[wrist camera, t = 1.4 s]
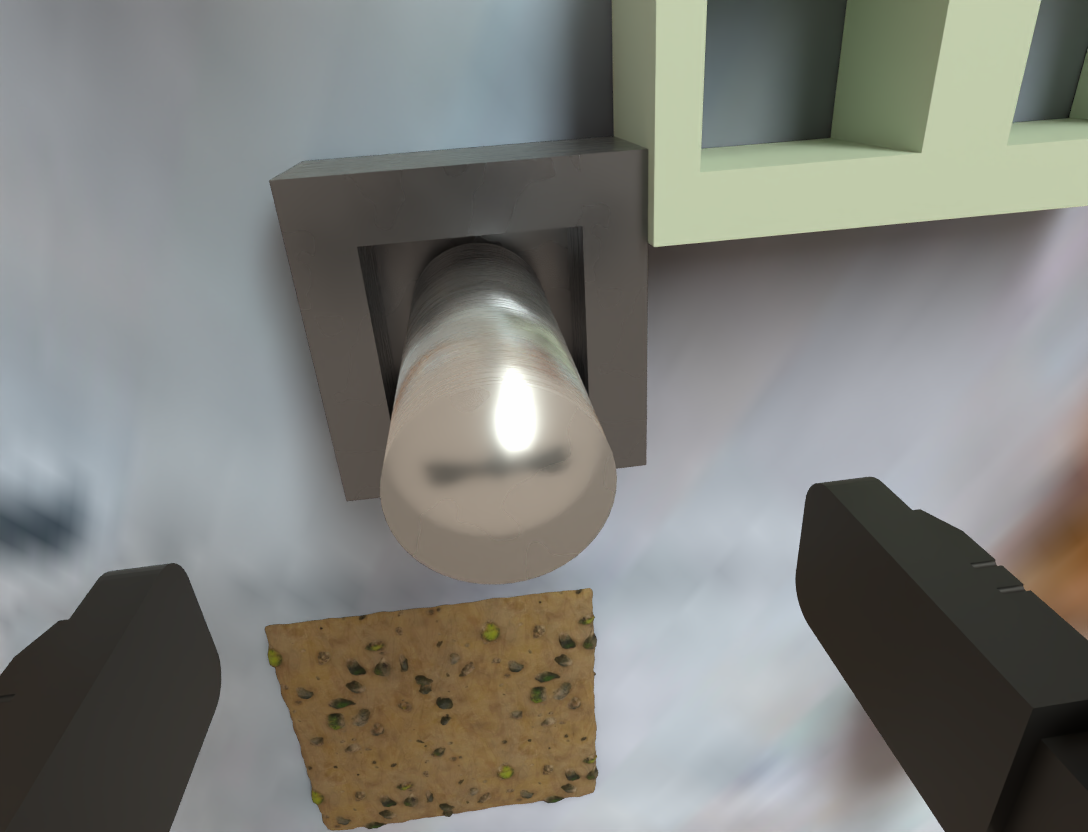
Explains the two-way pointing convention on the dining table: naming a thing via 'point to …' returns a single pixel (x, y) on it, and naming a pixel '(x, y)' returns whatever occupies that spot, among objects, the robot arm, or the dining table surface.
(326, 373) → the block
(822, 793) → the dining table surface
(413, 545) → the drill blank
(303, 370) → the dining table surface
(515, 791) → the tan flat square slab
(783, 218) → the rack
